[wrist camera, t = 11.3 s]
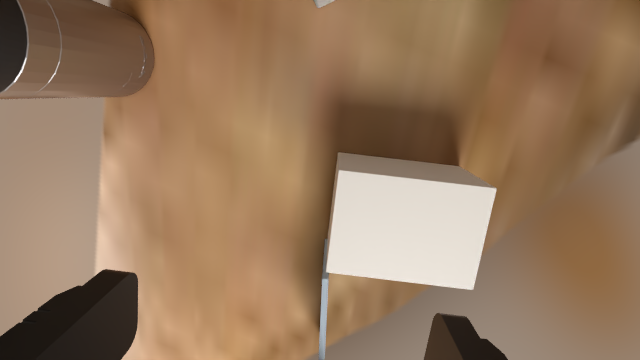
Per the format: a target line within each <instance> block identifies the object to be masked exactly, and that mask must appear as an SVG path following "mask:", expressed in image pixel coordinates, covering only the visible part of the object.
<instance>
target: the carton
mask: <svg viewBox="0 0 640 360" xmlns="http://www.w3.org/2000/svg"><path fill="white" fill-rule="evenodd" d="M496 189H497V188H495V187H493V186H492V185H490V184H488V183H487V182H485V181H483V180H482V179H480V178H478V177H476V176H475V175H473V174H471V173H470V172H468V171H466V170H465V169H463V168H461V167H460V166H453V165H444V164H436V163H427V162H418V161H410V160H401V159H392V158H384V157H375V156H366V155H358V154H349V153H341V152H338V157H337V165H336V173H335V181H334V189H333V197H332V205H331V213H330V221H329V230H328V244H327V264H326V272H328V273H336V274H345V275H353V276H361V277H370V278H378V279H386V280H395V281H403V282H411V283H419V284H428V285H436V286H444V287H453V288H461V289H469V290H473V287H474V284H475V279H476V275H477V271H478V266H479V262H480V258H481V253H482V249H483V245H484V240H485V236H486V232H487V228H488V223H489V219H490V215H491V210H492V206H493V202H494V197H495V193H496Z"/></svg>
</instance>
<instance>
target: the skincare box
mask: <svg viewBox="0 0 640 360" xmlns="http://www.w3.org/2000/svg"><path fill="white" fill-rule="evenodd" d="M333 1H335V0H314V2H315V4H316V6H317V8H320V7H322V6H324V5H327V4H329V3H331V2H333Z"/></svg>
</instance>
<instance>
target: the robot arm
mask: <svg viewBox="0 0 640 360" xmlns="http://www.w3.org/2000/svg"><path fill="white" fill-rule="evenodd" d="M153 65H154V53H153V47H152V44H151V40H150V39H149V37H148V35H147V33H146V31H145V30H144V29H143V27H142V26H141V25H140V24H139V23H138V22H137V21H136V20H135V19H134V18H132V17H131V16H129V15H127V14H126V13H123V12H121V11H118V10H115V9H113V8H110V7H107V6H105V5H102V4H100V3H97V2H94V1H92V0H0V99H31V98H80V97H81V98H82V97H122V96H128V95H131V94H134V93H135V92H137V91H138V90H140V89H141V88H142V87H143V86H144V85H145V84H146V83H147V81H148V79H149V78H150V76H151V73H152V70H153ZM137 323H138V278H137V275H136V274H135V273H131V272H123V271H115V270H108V269H105V270H102V271H101V272H100V273H98V274H97V275H96V276H94V277H93V278H92V279H91V280H89V281H88V282H87V283H86V284H84V285H83V286H76V287H74V288H72V289H69V290H67V291H65V292H62V293H60V294H58V295H56V296H54V297H53V298H52V299H50V300H49V301H48V302H46V303H45V304H43V305H42V306H41V307H39V308H38V311H34V312H33V313H31V314H30V315H29V316H27V317H26V318H25V319H23V322H22V323H18V324H16V325H15V326H14V327H13V328H11V329H10V330H8V331H7V332H6V333H4V334H3V335H2V336H0V360H121V359H122V357H123V356H124V355H125V354H126V352H127V351H128V350H129V348H130V347H131V345H132V343H133V340H134V338H135V335H136V331H137ZM424 360H508V359H507V358H506V356H505V355H504V354H503V353H502V352H501V351H500V350H499V349H497V348H496V347H495V346H494V345H493V344H492V343H491V342H489V341H488V340H487V339H481V338H480V337H479V336H478V334H477V332H476V331H475V329H474V327H473V326H472V324H471V323H470V321H469V320H468V318H467V317H465V316H456V315H448V314H442V313H437V314H436V315H435V316H434V318H433V322H432V326H431V331H430V335H429V339H428V344H427V348H426V353H425V357H424Z"/></svg>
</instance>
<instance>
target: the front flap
mask: <svg viewBox="0 0 640 360" xmlns="http://www.w3.org/2000/svg"><path fill="white" fill-rule="evenodd" d="M327 244H328V239H325V246H324V260H323V274H322V294H321V318H320V341H319V360H325V341H326V320H327V299H328V277H329V273H328V272H326V264H327Z"/></svg>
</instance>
